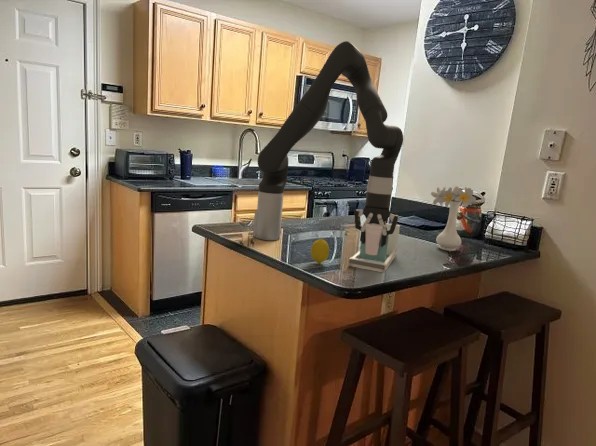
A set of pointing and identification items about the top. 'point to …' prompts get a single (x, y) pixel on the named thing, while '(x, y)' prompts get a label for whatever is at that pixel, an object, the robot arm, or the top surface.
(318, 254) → the lemon
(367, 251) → the smoothie
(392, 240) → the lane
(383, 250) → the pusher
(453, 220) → the flower vase
